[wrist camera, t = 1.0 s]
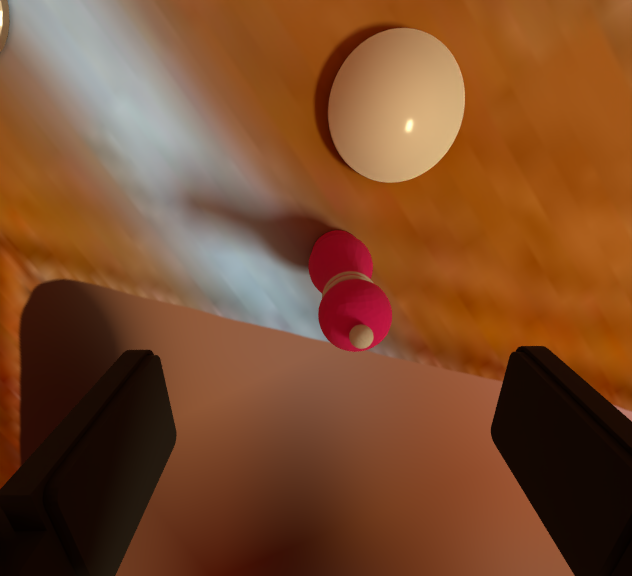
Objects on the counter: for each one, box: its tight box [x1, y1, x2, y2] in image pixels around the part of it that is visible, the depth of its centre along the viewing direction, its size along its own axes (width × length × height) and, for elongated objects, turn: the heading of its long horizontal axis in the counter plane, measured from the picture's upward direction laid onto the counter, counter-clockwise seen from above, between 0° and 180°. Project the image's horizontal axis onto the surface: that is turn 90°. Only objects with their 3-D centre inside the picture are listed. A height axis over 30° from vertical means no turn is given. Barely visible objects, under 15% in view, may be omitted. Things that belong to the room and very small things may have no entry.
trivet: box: [328, 28, 465, 182], centre depth 35 cm, size 14×14×2 cm
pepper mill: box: [308, 230, 392, 352], centre depth 33 cm, size 7×7×20 cm
